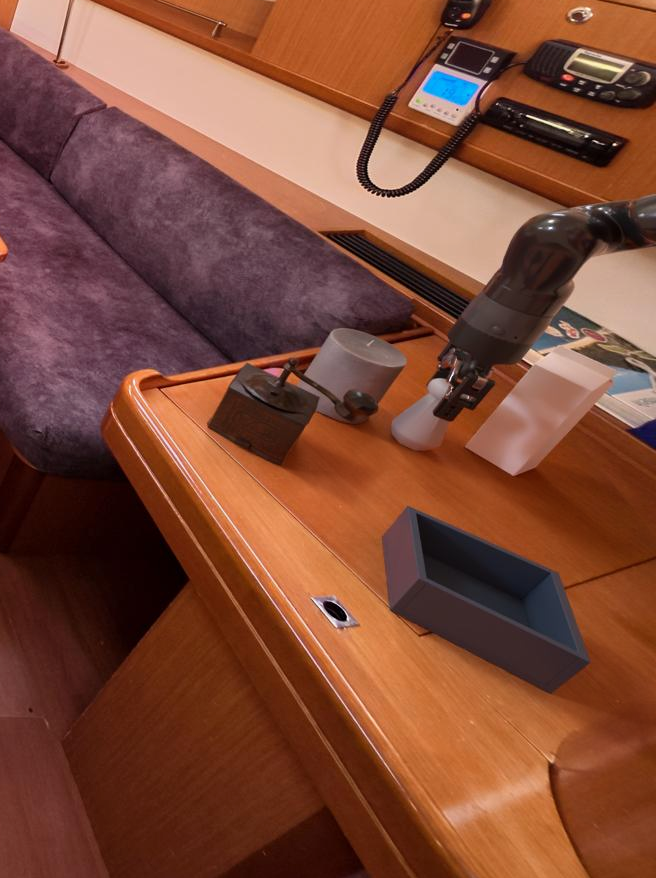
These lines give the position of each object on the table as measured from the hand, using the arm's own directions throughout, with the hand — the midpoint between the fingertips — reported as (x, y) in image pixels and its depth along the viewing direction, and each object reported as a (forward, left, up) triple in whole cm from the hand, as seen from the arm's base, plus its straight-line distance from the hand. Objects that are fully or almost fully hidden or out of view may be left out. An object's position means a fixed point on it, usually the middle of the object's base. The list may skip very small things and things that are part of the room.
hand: (438, 403), depth 101 cm
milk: (-11, -6, -9) cm, 16 cm away
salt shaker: (0, 0, -9) cm, 9 cm away
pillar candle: (+10, -2, -9) cm, 14 cm away
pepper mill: (+18, +17, -9) cm, 26 cm away
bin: (-2, +34, -9) cm, 35 cm away
